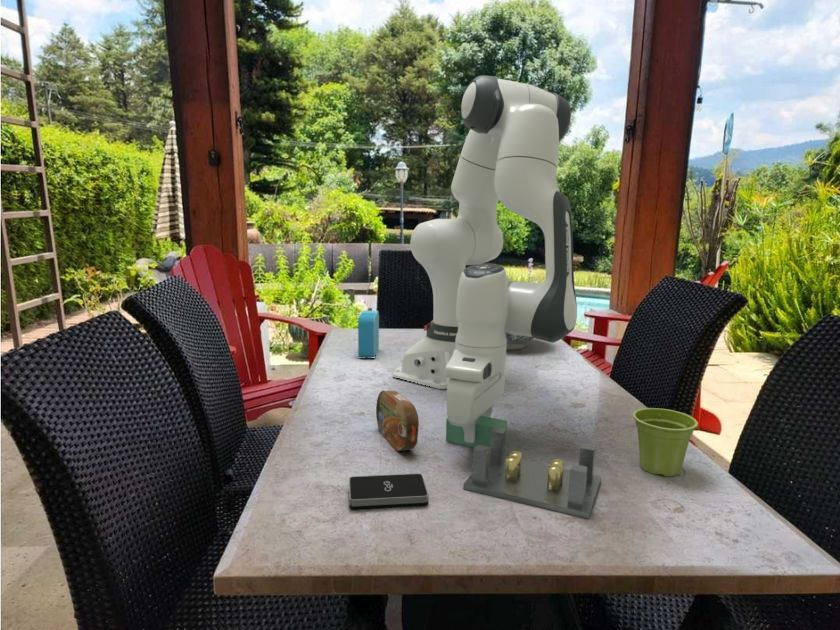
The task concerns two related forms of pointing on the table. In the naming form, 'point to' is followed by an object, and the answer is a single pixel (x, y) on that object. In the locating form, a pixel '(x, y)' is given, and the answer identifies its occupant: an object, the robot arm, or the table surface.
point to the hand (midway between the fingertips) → (477, 433)
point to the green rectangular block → (481, 426)
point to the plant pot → (663, 439)
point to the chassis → (534, 478)
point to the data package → (368, 333)
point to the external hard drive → (387, 491)
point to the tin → (397, 420)
